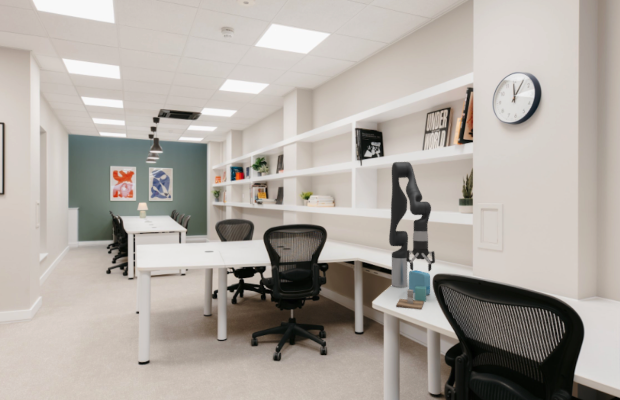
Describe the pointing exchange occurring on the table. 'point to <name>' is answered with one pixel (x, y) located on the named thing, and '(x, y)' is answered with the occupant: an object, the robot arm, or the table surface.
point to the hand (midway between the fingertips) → (420, 270)
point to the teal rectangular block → (420, 293)
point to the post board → (413, 306)
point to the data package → (419, 280)
